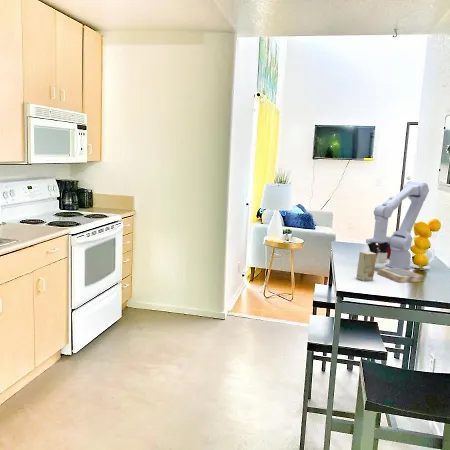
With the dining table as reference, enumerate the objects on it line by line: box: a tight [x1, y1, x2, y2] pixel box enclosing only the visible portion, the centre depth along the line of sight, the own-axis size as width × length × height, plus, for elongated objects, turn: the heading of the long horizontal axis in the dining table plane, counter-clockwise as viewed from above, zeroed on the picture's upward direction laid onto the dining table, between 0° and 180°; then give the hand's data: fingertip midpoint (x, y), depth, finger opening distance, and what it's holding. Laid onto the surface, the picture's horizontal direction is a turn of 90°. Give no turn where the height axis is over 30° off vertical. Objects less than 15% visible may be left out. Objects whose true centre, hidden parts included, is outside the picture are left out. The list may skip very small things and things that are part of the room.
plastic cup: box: [377, 235, 391, 260], centre depth 248 cm, size 11×11×12 cm
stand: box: [376, 267, 425, 284], centre depth 206 cm, size 14×14×3 cm
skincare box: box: [355, 251, 376, 282], centre depth 197 cm, size 6×4×12 cm
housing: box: [368, 249, 388, 264], centre depth 218 cm, size 4×8×6 cm, turn 22°
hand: (377, 257), depth 219 cm, fingers closed on housing, 4 cm apart
